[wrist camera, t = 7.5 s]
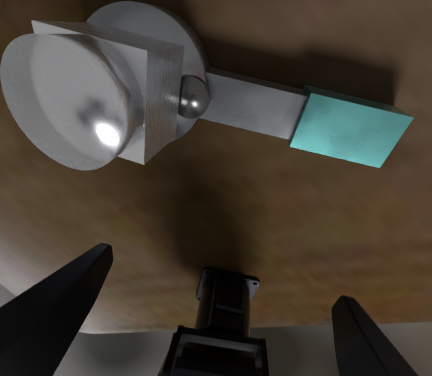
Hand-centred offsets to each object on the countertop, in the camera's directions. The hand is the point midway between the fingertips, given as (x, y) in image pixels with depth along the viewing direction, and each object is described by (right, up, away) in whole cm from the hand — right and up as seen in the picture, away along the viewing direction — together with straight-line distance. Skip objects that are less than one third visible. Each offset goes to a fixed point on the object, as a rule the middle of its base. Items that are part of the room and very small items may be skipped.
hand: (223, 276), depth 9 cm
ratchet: (+1, +10, +7) cm, 12 cm away
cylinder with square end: (-5, +10, +5) cm, 12 cm away
